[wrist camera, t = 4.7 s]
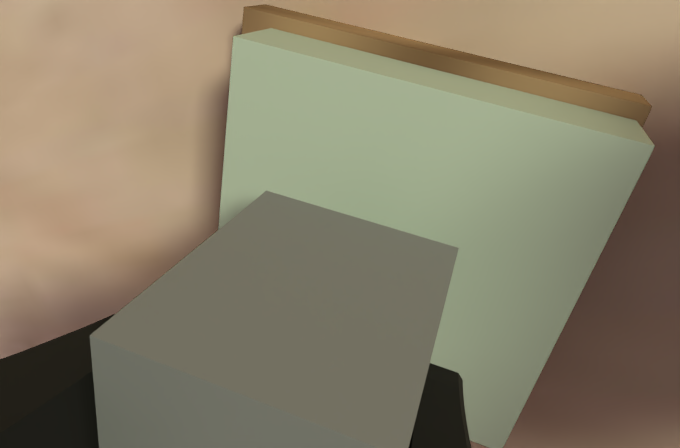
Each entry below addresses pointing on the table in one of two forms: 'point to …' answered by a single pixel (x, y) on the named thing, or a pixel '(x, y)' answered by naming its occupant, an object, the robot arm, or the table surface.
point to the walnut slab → (450, 61)
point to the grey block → (276, 337)
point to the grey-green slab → (441, 190)
